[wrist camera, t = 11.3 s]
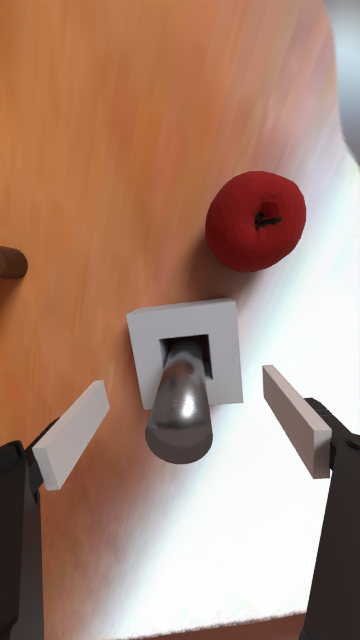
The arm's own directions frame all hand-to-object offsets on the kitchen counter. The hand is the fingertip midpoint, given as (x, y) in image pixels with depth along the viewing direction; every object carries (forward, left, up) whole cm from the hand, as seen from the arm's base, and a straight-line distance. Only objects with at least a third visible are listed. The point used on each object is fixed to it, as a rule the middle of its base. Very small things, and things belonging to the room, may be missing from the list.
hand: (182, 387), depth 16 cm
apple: (-13, +8, -12) cm, 19 cm away
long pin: (0, 0, -11) cm, 11 cm away
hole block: (0, 0, -11) cm, 11 cm away
